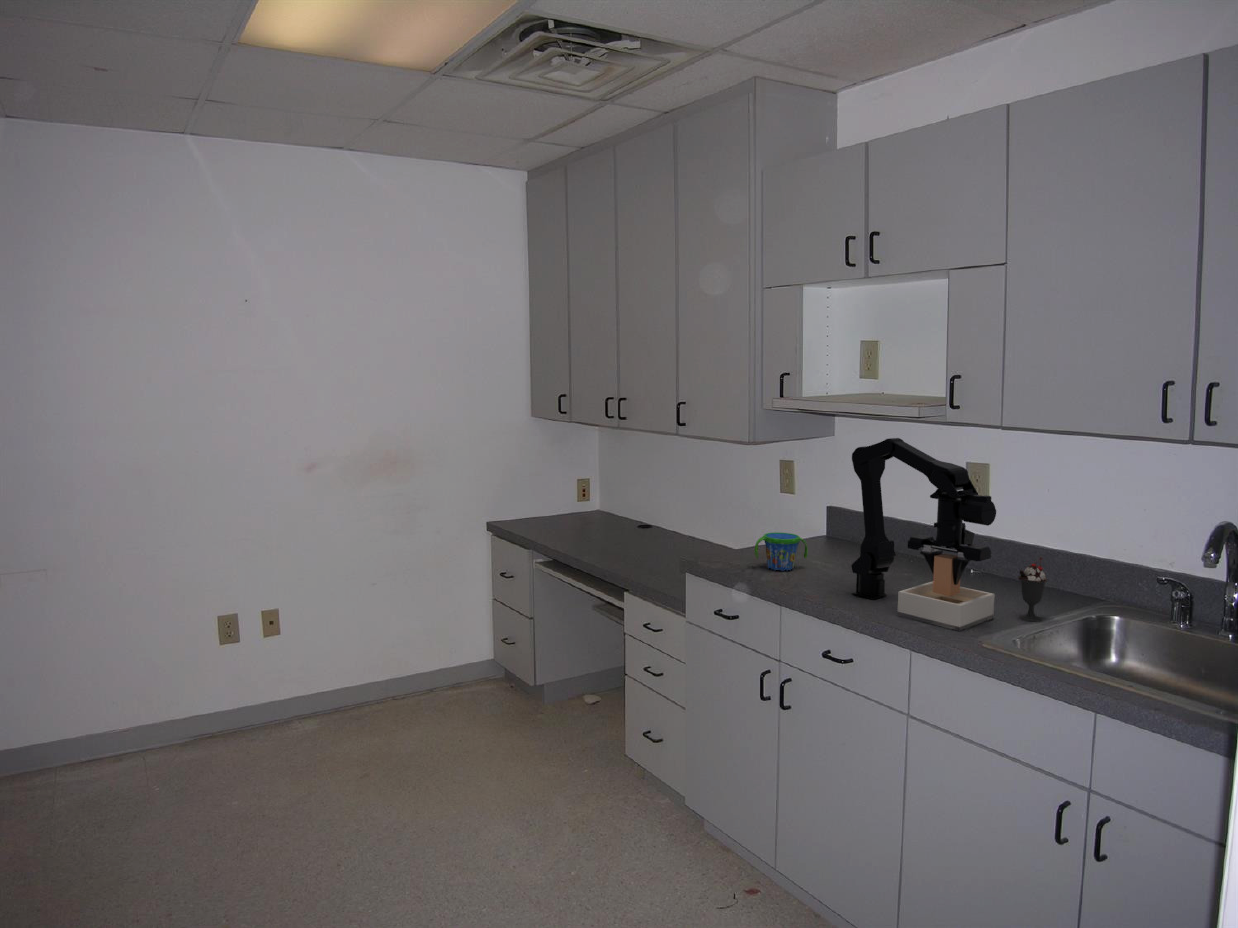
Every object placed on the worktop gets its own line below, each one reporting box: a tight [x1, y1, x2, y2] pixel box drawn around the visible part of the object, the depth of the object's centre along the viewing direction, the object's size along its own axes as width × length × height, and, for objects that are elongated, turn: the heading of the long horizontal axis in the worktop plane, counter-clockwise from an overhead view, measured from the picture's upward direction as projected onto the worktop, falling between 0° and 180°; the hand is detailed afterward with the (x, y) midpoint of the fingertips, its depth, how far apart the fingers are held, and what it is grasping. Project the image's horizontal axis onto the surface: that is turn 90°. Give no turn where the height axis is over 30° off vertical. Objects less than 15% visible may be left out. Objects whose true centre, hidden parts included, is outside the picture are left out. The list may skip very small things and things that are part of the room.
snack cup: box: [754, 531, 809, 572], centre depth 258 cm, size 16×10×10 cm
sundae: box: [1017, 557, 1049, 623], centre depth 208 cm, size 7×7×15 cm
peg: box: [932, 553, 961, 596], centre depth 209 cm, size 4×4×9 cm
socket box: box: [896, 580, 996, 632], centre depth 210 cm, size 16×16×6 cm
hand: (946, 582), depth 209 cm, fingers closed on peg, 4 cm apart
